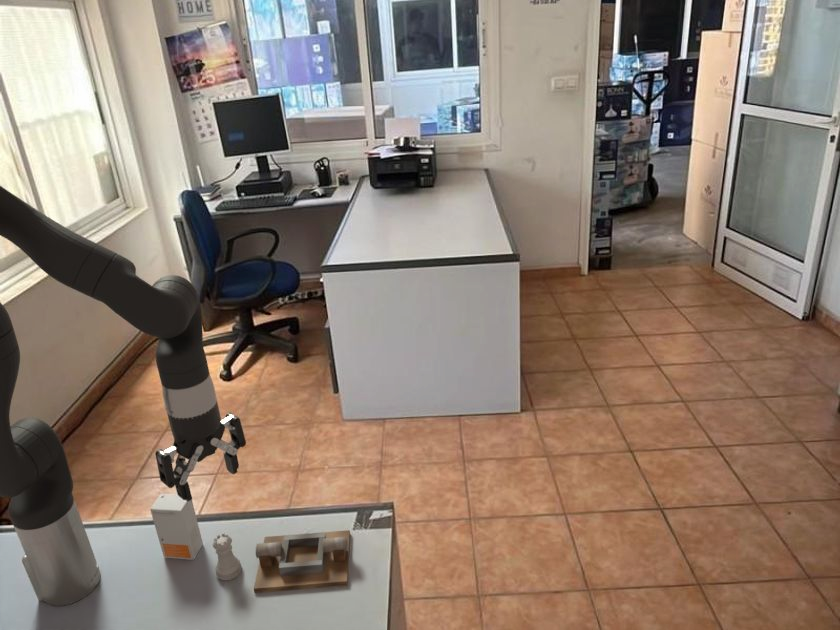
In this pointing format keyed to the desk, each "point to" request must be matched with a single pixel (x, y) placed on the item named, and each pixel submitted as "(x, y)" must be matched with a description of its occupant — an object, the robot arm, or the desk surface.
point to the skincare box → (176, 527)
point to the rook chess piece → (226, 558)
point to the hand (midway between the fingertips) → (210, 484)
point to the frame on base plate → (303, 561)
